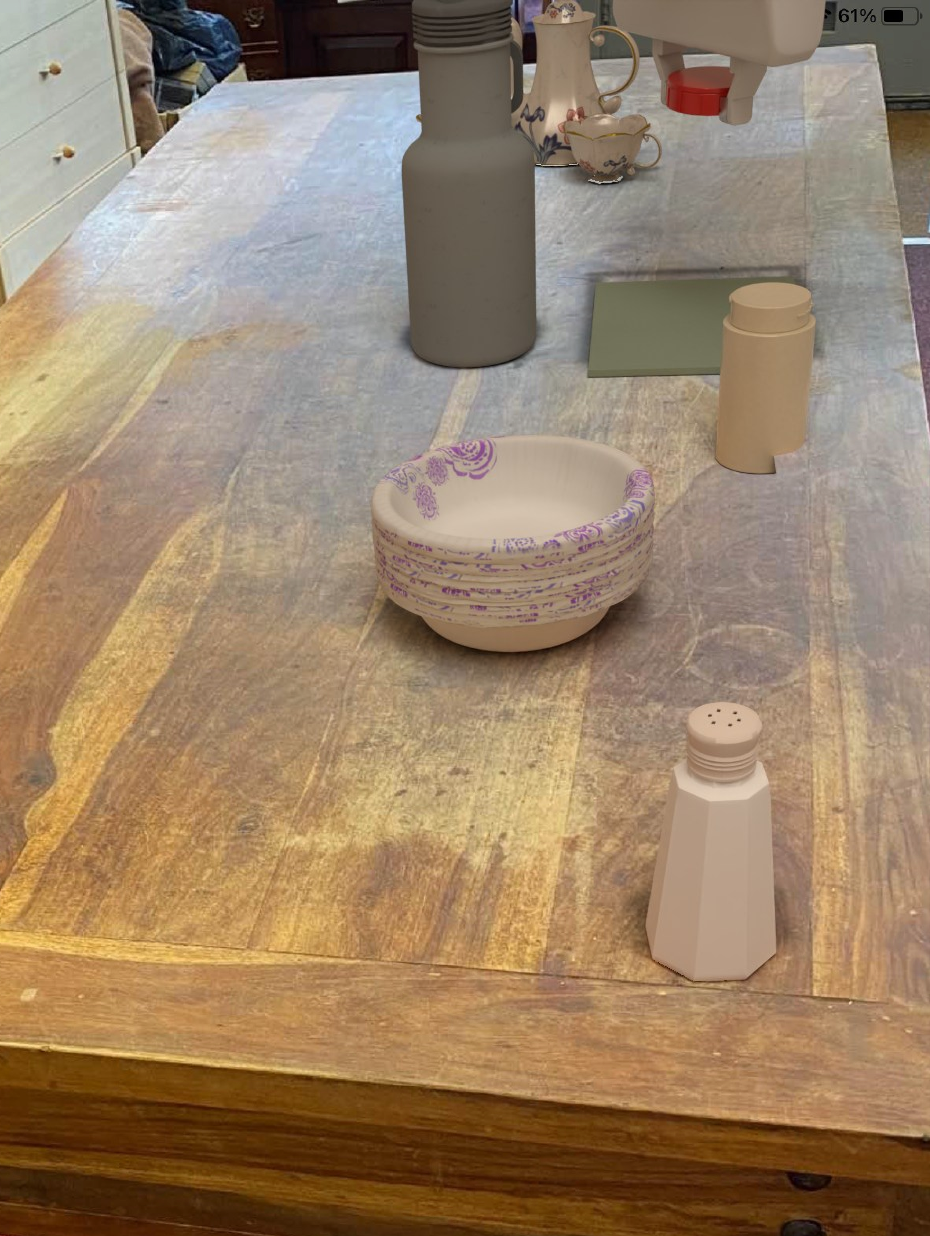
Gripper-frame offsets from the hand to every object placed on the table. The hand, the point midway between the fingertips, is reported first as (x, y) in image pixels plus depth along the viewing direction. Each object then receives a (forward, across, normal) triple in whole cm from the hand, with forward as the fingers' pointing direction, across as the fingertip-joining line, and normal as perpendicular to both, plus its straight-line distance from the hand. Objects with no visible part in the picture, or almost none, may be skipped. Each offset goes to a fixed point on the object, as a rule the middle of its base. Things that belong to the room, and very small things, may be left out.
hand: (705, 114), depth 117 cm
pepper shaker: (+16, +61, -42) cm, 76 cm away
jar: (+16, +23, -11) cm, 30 cm away
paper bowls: (+16, +32, -35) cm, 50 cm away
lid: (-2, 0, 0) cm, 2 cm away
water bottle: (+16, -7, -16) cm, 23 cm away
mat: (+16, 0, 0) cm, 16 cm away
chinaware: (+16, -50, +16) cm, 55 cm away
